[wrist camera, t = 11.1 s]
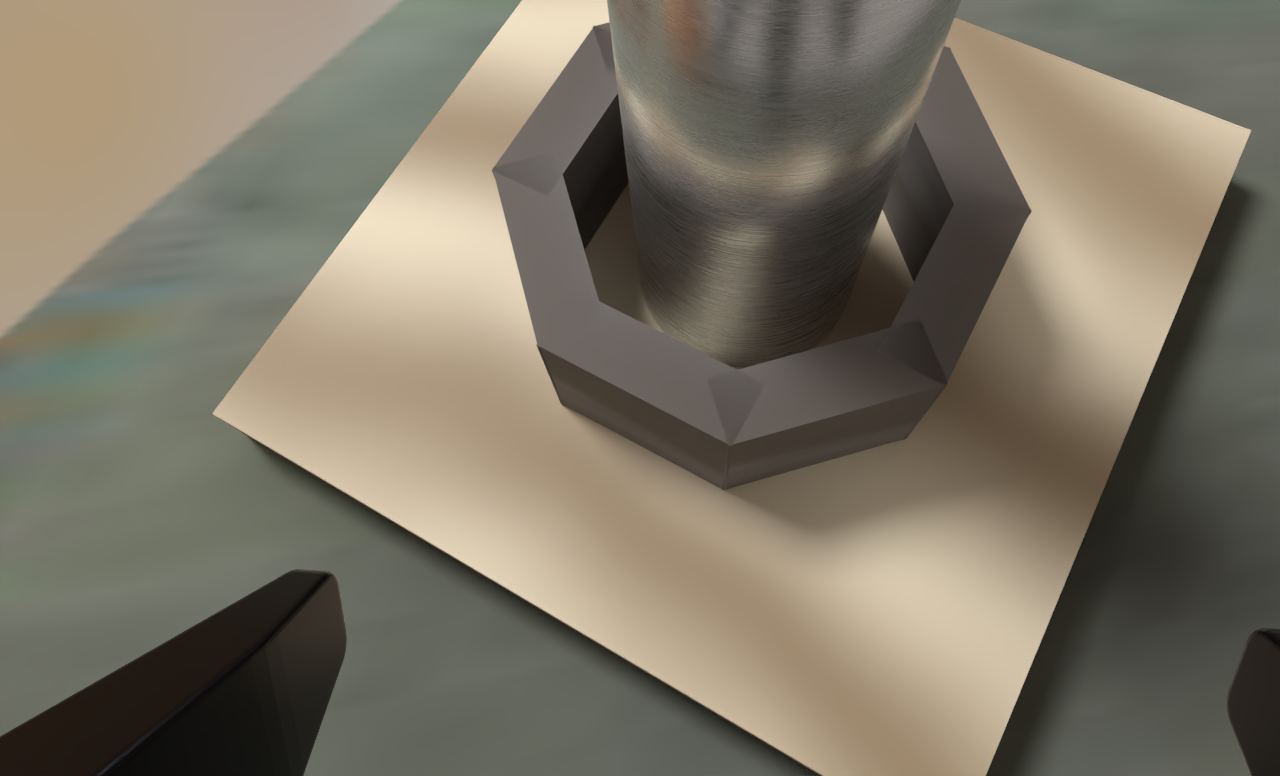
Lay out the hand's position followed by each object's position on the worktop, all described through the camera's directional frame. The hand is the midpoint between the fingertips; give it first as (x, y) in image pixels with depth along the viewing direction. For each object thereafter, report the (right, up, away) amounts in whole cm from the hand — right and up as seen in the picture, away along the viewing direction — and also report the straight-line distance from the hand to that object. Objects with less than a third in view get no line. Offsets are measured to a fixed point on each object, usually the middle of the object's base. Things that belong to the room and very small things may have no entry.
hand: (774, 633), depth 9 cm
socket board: (+1, +4, +11) cm, 12 cm away
